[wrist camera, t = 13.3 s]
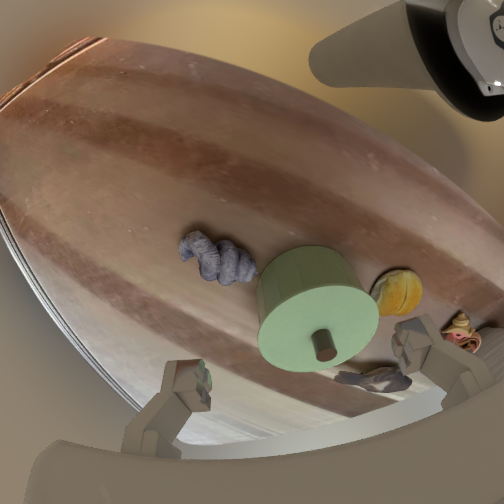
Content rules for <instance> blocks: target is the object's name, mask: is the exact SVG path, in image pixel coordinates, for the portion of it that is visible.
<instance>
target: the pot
mask: <svg viewBox="0 0 504 504" xmlns="http://www.w3.org/2000/svg"><path fill="white" fill-rule="evenodd" d="M326 283H345V284H350V285H354V286H356V287H359V288H361V289H363V287H362V285H361V283H360V282H359V280H358V278H357V276H356V275H355V273H354V271H353V269H352V268H351V266H350V264H349V263H348V261H347V260H346V259H345V258H344V257H343V256H342V255H341V254H339V253H338V252H336V251H335V250H332V249H330V248H327V247H323V246H302V247H298V248H294V249H292V250H289V251H287V252H285V253H283V254H281V255H280V256H278V257H276V258H275V259H274V260H273V261H272V262H270V264H269V265H268V266H267V267H266V268H265V269H264V271H263V272H262V274H261V276H260V278H259V281H258V285H257V291H256V296H257V305H258V315H259V325H261V322H262V321H263V319H264V317H265V316H266V315H267V313H268V312H269V311H270V310H271V309H272V308H273V307H274V306H275V305H276V304H277V303H279V302H280V301H281V300H283V299H284V298H286V297H288V296H289V295H291V294H293V293H295V292H297V291H299V290H302V289H305V288H308V287H311V286H315V285H319V284H326ZM363 290H364V289H363Z"/></svg>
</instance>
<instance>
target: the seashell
mask: <svg viewBox="0 0 504 504" xmlns="http://www.w3.org/2000/svg"><path fill="white" fill-rule="evenodd" d="M179 254H180V256H181V259H182V261H183V262H185V261H186V260H188V259H189V258H190V257H193V256H195V257H196V258H197V259H198V262H199V265H200V267H199V269H200V275H201V277H202V278H203V279H205V280H206V281H213V280H216V279H217V280H218V282H219V283H220V284H222V285H224V286H227V285H231V284H232V283H233V282H237V281H238V282H240V283H243V282H244V283H248V282H250V281H252V279H253V277H254V276H256V275H257V274H258V273H259V272H258V271H257V268H256V263H255V261H254V260H253V258H250V255H249V253H248V252H247V251H245V250H243V249H238V248H236V246H235V245H234V244H233V243H232V242H231V241H230V240H220V241H218V242H217V243H215V244H213V243H212V242H211V240H209V238H207V236H205V234H204V233H203V232H201V231H199V230H197V231H195V232H191V233H188V234H187V235H186V236H184V237H183V238H182V240H181V242H180V243H179Z"/></svg>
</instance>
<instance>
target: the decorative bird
mask: <svg viewBox="0 0 504 504" xmlns="http://www.w3.org/2000/svg"><path fill="white" fill-rule="evenodd" d="M333 380H334V381H335V382H338V383H341V384H348V385H358V386H360V387H362V388H364V389H366V390H367V391H371V392H380V393H390V392H397V391H403V390H406V389H407V388H409V386H410V385H411V384H412V380H411V379H410V378H409V377H407V376H406V375H404V376H403V373H402V371H401V369H400V368H399V367H380V368H377V369H375V370H372V371H370V372H368V373H367V374H366V375H364V374H363V373H360V374H356V373H352V372H346V371H339V373H338V375H336V376H335V377H334V379H333Z"/></svg>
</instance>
